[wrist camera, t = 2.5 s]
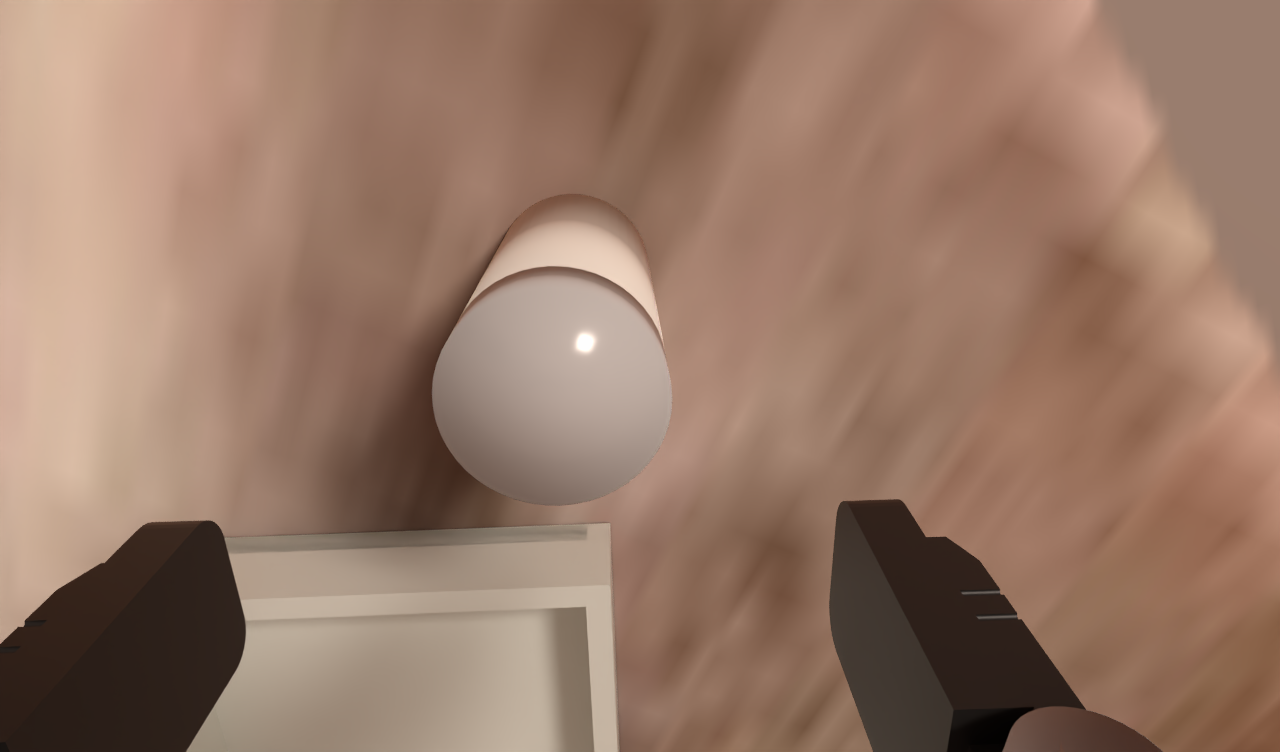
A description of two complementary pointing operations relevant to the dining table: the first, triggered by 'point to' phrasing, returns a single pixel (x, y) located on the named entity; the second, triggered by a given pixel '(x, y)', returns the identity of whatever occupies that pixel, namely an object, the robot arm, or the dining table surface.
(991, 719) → the robot arm
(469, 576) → the tray
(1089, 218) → the dining table surface
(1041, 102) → the dining table surface
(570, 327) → the salt shaker
